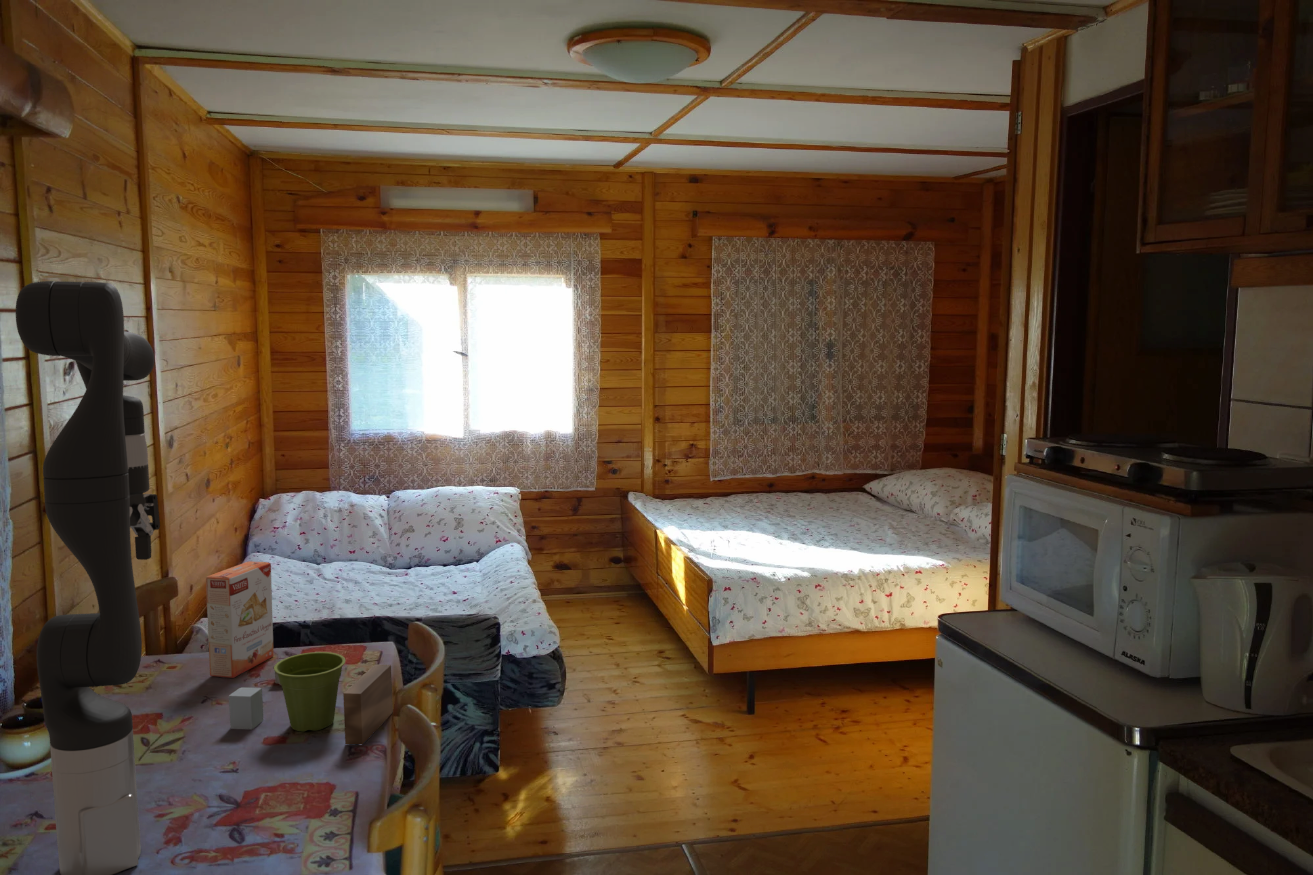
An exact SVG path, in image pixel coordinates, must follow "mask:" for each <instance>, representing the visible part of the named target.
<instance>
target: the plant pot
mask: <svg viewBox="0 0 1313 875" xmlns="http://www.w3.org/2000/svg"><path fill="white" fill-rule="evenodd" d="M345 664H346V658H345V657H344V655H341V654H339V653H336V652H330V651H329V652H328V651H316V652H315V651H314V652H313V651H312V652H305V653H300V654H294V655H291V656H289V657H285V658H283V659H281V660H279V661H278V662H277V663H275V664H274V666H273V667H274V669H273V671H274V673H275V672H276V673H277V674H278V677H279V681H280V684H281V685H280V684H279V685H280V686H281V688H282V693H283V697H284V702H285V705H286V711H287V715H288V720H289V724H290V728H291V729H293V730H294V731H297V732H307V731H314V732H315V731H320V730H323V729H325V728H328V727H330V726H331V725H332V724H333V722H334V720H335V714H336V708H337V699H338V691H339V683H340V678H341V676H342V670H343V666H344V665H345Z"/></svg>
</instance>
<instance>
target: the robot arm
mask: <svg viewBox="0 0 1313 875" xmlns="http://www.w3.org/2000/svg"><path fill="white" fill-rule="evenodd" d="M124 315H125V314H124V307H123V301H122V298H121V295H120V292H119V291H118V289H117V287H116V286H115V285H113V284H112V283H109V282H100V281H97V282H96V281H64V280H62V281H59V280H57V281H54V280H44V281H36V282H31V283H28V284H27V285H25V286H23V287H22V289H21V290H19V292H18V295H17V297H16V303H15V325H16V328H17V334H18V336H19V339H20V340H21V342H22V343H23V345H24V346H25V347H26V349H28V350H29V351H31V352H32V353H35V354H37V355H38V354H39V355H44V356H50V357H63V358H67V359H70V360H72V361H75V364H76V366H77V369H78V371H79V375H80V377H81V380H82V381H83V385H84V387H85V392H84V394H83V396H82V397H81V400H80V402H79V404H78V405H77V406H76V409H75V410H74V412H73V414H72V415H71V417H70V418H69V419H68V420H67V422H66V424H65V425H64V426H63V428H62V429H61V430H60V432H59V434H58V435H57V437H55V440H54V441H53V442H52V444H51V445H50V447H49V449H48V451H47V453H46V455H45V458H44V461H43V465H42V477H43V495H44V496H43V497H44V507H45V514H46V518H47V520H48V521H49V524H50V525H51V527H52V529H53V530H54V532H55V533H56V534H57V536H58V538H60V540H61V541H62V543H63V544H64V545H65V546H66V548H67V549H68V551H70V552H71V553H72V555H73V556H74V558H76V560H77V561H78V562H79V563H80V565H81V566H82V567H83V569H84V570H85V572H86V573H87V575H88V577H89V579H90V582H91V583H92V587H93V588H94V592H95V595H96V600H97V604H98V611H99V612H95V613H72V614H71V613H70V614H69V613H68V614H61V615H60V614H58V615H56V616H55V615H54V616H53V617H51V618H50V619H48V620H47V621H46V622H45V623H44V625H43V626H42V628H41V630H40V633H39V636H38V639H37V645H36V667H37V668H36V670H37V676H38V682H39V688H40V689H39V690H40V695H41V703H42V711H43V713H42V714H43V720H44V725H45V728H46V730H47V732H48V735H49V745H50V746H49V748H50V760H51V776H52V778H51V779H52V788H53V790H52V791H53V803H54V804H53V805H54V816H55V828H56V829H55V830H56V843H57V851H58V853H57V854H58V865H59V874H60V875H115V874H118V873H120V872H122V871H125V870H127V869H131V868H133V867H135V866H138V865H139V857H140V856H141V854H142V848H141V845H142V844H141V830H140V820H139V804H138V803H139V802H138V788H137V787H138V786H137V773H136V760H135V743H134V742H135V741H134V726H133V714H132V713H133V712H132V711H131V708H129V706H127V705H126V704H125V703H123V702H119V701H116V700H113V699H110V698H107V697H104V696H103V695H101V694H98V693H97V692H96V691H94V690H93V689H91V688H93V687H95V688H96V687H109V686H121V685H125V684H128V683H130V682H131V681H132V680H133V679H134V678H135V677H136V675H137V673H138V671H139V668H140V665H141V659H142V651H143V650H142V649H143V647H142V645H143V643H142V642H143V640H142V627H141V621H140V614H139V613H140V612H139V607H138V606H139V605H138V600H137V594H136V586H135V577H134V570H133V569H134V568H133V560H132V544H131V541H132V540H131V530H132V532H134V534H135V537H134V543H135V544H134V548H135V558H136V559H137V560H139V561H140V560H141V561H147V560H150V559H151V558H152V538H151V537H152V536H153V534H154V531H157V530H160V527H161V522H160V511H159V501H158V500H159V499H158V495H157V494H156V493H154V494H153V493H147V492H149V490H150V488H151V487H150V473H149V470H150V469H149V455H148V454H149V453H148V451H149V450H148V444H147V439H146V433H145V418H144V416H145V413H144V404H143V401H142V400H141V399H140V398H138V397H134V396H131V395H130V396H129V395H125V394H124V381H125V382H128V381H129V382H130V381H132V382H133V381H141V380H144V379H145V378H147V377H148V376H149V375H150V374H151V373H152V371H153V369H154V366H155V353H154V349H153V348H152V345H151V344H150V342H149V341H148V339H146V338H145V337H144V336H143V335H141V334H138V333H135V332H130V331H125V316H124ZM150 516H151V519H150V518H149V517H150ZM151 520H152V522H151Z"/></svg>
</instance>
